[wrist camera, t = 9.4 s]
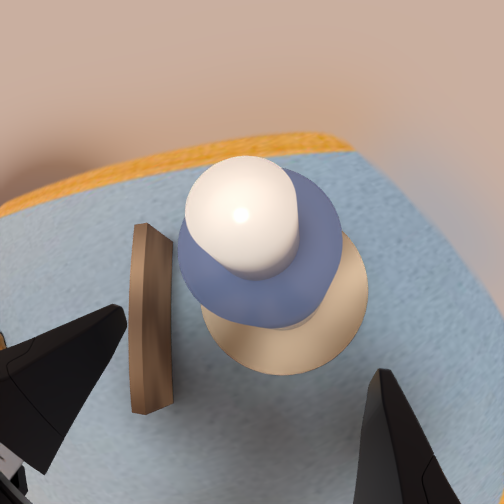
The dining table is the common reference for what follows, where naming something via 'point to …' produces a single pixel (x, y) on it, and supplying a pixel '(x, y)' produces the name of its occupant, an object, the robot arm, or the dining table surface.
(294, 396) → the dining table surface
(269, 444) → the dining table surface
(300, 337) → the disc
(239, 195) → the soy bottle
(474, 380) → the dining table surface
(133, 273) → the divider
